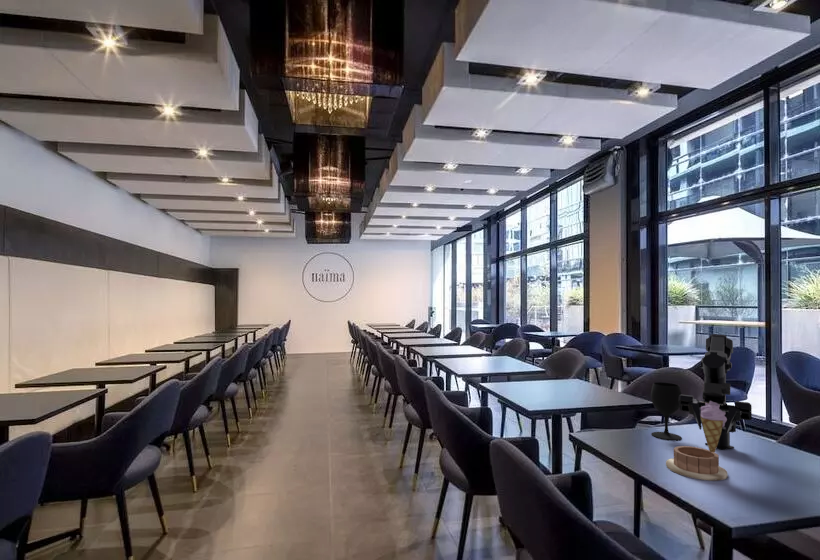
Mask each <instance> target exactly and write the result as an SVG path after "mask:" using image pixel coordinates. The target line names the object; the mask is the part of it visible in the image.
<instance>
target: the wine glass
mask: <svg viewBox="0 0 820 560" xmlns="http://www.w3.org/2000/svg"><path fill="white" fill-rule="evenodd" d="M681 390H682V389H681V387H680V385H679V384H677V383H671V382H665V381H664V382H662V381H661V382H660V381H659V382H658V381H656V382H653V383H652V386H651V391H650V399H651V402H652V405H653V407H654V408H655V409H656V410H657V411H658V412H659V413H661V414H662V415H663V416H664V417H663V418H664V431H652V432H651V433H650V434H651V436H652V437H653V438H656V439H659V440H663V441H669V440H676V441H675V442H679V441H682V439H683V437H682V436H681V435H678V434H677V433H673V432H669V426H668V425H669V417H670V416H671V415H672V414H675V412H677V411H678V410H680V408H679V401H678V400H679V396H680V395H683V394H682V391H681ZM678 440H679V441H678Z"/></svg>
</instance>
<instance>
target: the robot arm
mask: <svg viewBox="0 0 820 560" xmlns="http://www.w3.org/2000/svg"><path fill="white" fill-rule="evenodd" d="M732 354H734V342H733V340H732V339H730V338H728V337H727V335H725V334H710V335H709V337H707V338H705V353H704V356H703V357H702V358H701V360H700V368H701V369H703V374H704V383H703V390H702V399H703V401H702V400H699V399H697V398H694V395H688V394H682V395H680V396H679V400H678V401H679V411H681V412H685V413H686V412H687V413H688V414H689V415H692V416H693V417H694V419H695V421H696V423H697V426H698V428H699V430H701V431H702V428H703V427H702V422H701V417H700V416H701V407H702V406H706V405H705V403H708V404H709V402H710V401H712V402H715V403H717V404H719V405H720V407H719V409H720V410H721V411H724V412H725V413H726V414H725V415H724V416H725V417H726V418H727V421H726V422H725V426H724V427H723V428H722V431H721V435H720V438H719V442H718V445H717V448H716V449H717V450H718V449H719V450H722V451H725V450H730V449H731V450H732V449H735V446H733V445H731V443H730V442H731V441H730V440H731V437H730V436H731V435H730V433H736V432H737V430H736V429H737V427H736V425H737V424H736V422H741V420H744V421H752V420H753V419H752V414H753V413H752V409H753V408H752V403H750V402H747V401H739V400H738V401H737V400H735V405H733V404H728V403H727V401H726V399H727V397H726V395H727V396H731V383H729V382H726V381H727V373H728V371H731V369H732V367H733V363H732V362H731V361H730V360H731V359H732V358H731V357H732ZM704 444H705V445H706V446H708V444H707V442H705V443H704Z"/></svg>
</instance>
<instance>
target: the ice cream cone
mask: <svg viewBox="0 0 820 560" xmlns="http://www.w3.org/2000/svg"><path fill="white" fill-rule="evenodd" d="M705 405H706V406H702V407H701V408H700V418H701V426H702V427H701V428H702V430H703V433H704V438H705V441H706V443H707V444H708V445H707V447H708V450H709V451H710V452H715V453H716V451H717V449H718V448H717V445H718V442H719V438H720V435H721V431H722V428H723V427H724V426H725V422H726V421H727V418H726V417H725V416H724V415H725V414H726V413H725V412H724V411H721V410H720V409H719V407H720V405H719V404H717V403H715V402H712V401H710V402H709V404H708V403H705Z"/></svg>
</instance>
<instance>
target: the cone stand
mask: <svg viewBox="0 0 820 560" xmlns="http://www.w3.org/2000/svg"><path fill="white" fill-rule="evenodd" d="M719 458H720V457H719V454H718V453H716V451H715V452H710V451H709V449H706V448H702V447H698V446H697V447H696V446H688V445H687V446H686V445H679V446H675V447H674V448H673V458H669V459H667V460H666V461H665V466H667V467H666V468H667V469H668V470H669V469H670V471H671V472H673V473H675V474H678V475H681V476H683V477H686V478H691V479H695V480H702V481H711V482H716V481H717V482H718V481H724V480H726V479H728V476H729V475H728V474H729V473H728V471H727V470H726V469H725V468H723V467H722V466H720V465H719V464H720V463H719V461H720V459H719Z"/></svg>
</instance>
